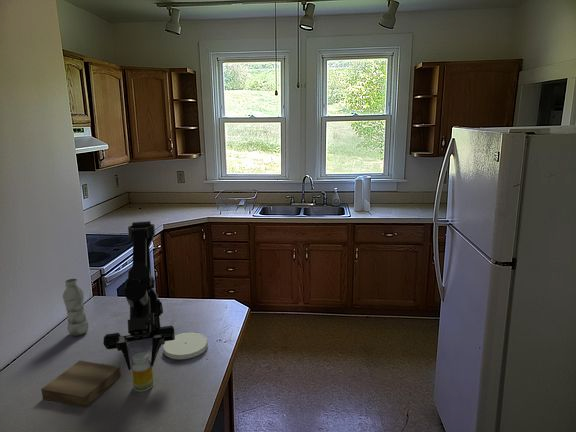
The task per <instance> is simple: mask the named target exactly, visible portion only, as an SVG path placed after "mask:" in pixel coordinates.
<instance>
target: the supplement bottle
mask: <svg viewBox="0 0 576 432" xmlns="http://www.w3.org/2000/svg"><path fill="white" fill-rule="evenodd" d="M130 372H131V380H132V387H133V390H134V391H136V392H142V393H143V392H146V391H148V390H149V389H151V388H152V387H153V386H154V375H153V367H152V366H151V359H149V353H147V352H146V351H145V352H144V351H141V352H140V351H139V352H137V353H135V354H133V356H132V363H131V370H130Z"/></svg>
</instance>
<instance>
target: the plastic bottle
mask: <svg viewBox="0 0 576 432" xmlns="http://www.w3.org/2000/svg"><path fill="white" fill-rule="evenodd" d="M64 282H65V287H66V288H65V290H64V291H63V293H62V299H63V302H64V306H65V310H66V315H67V331H68V334H69V335H71V336H73V337H74V336H76V337H77V336H82V335H84V334H86V333H87V332H88V330H89V322H88V320H87V316H86V313H85V308H84V307H85V304H84V299H85V297H84V296H85V295H84V294H85V293H84V291H83V289H82V288H80V287H79V286H78V285H79V282H78V279H77V278H69V279H67V280H65V281H64Z"/></svg>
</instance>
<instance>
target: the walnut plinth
mask: <svg viewBox="0 0 576 432" xmlns="http://www.w3.org/2000/svg"><path fill="white" fill-rule="evenodd" d="M120 377H121V367H120V366H116V365H110V364H106V363H98V362H90V361H85V360H78V361H77V362H75V364H73V365H72V366H70V367H68V369H66V370H65V371H64V372H62V373H61V374H59V375H58V376H57V377H56V378H54V379H52V380H51V381H50V382H49V383H48V384H46V385H45V386H44V387H42V388H41V396H42V399H43V400H46V401H47V400H48V401H53V402H56V403H61V404H67V405H72V406H79V407H83V408H87V407H88V406H90V405H91V404H92V403H93V402H94V401H95V400H96V399H97V398H98V397H99V396H101V394H103V393H104V392H105V391H106V390H107V389H108V388H109V387H110V386H112V384H114V383H115V382H116V381H117V380H118V379H119V378H120Z"/></svg>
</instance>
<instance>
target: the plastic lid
mask: <svg viewBox="0 0 576 432" xmlns="http://www.w3.org/2000/svg"><path fill="white" fill-rule="evenodd" d="M208 346H209V345H208V339H207V337H206V335H204V334H202V333H198V332H183V333H179V334H175V340H171V341H165V344H163V345H162V349H163V350H162V351H163V353H164V355H165V356H166V358H167V357H168V358H170V359H172V360H187V359H191V358H195V357H197V356H199V355H201V354H202V353H204V352H205V351H206V350H207V348H208Z"/></svg>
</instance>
